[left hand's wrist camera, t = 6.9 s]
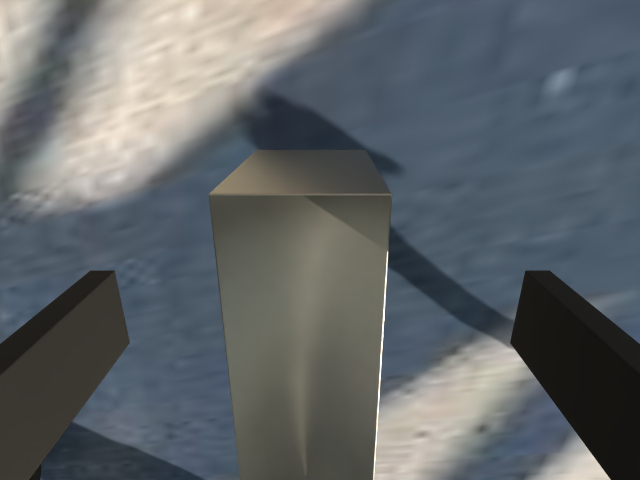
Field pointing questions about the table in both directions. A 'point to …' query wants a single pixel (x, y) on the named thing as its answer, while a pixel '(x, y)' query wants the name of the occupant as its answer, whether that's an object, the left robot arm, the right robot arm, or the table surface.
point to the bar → (303, 310)
